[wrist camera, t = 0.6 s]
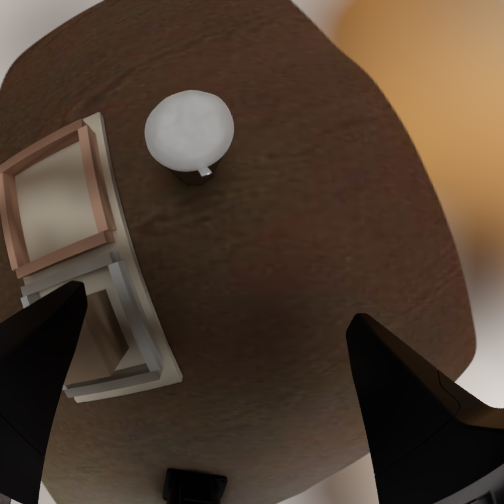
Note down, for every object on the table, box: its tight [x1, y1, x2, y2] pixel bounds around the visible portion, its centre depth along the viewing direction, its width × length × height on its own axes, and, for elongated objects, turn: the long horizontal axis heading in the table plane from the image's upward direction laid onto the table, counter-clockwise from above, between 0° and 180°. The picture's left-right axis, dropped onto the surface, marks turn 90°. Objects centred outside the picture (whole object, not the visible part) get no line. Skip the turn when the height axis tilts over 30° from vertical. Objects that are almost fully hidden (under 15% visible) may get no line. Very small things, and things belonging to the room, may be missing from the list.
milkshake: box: [145, 90, 234, 186], centre depth 16 cm, size 4×5×10 cm
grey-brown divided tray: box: [0, 112, 183, 403], centre depth 17 cm, size 23×11×6 cm, turn 17°
